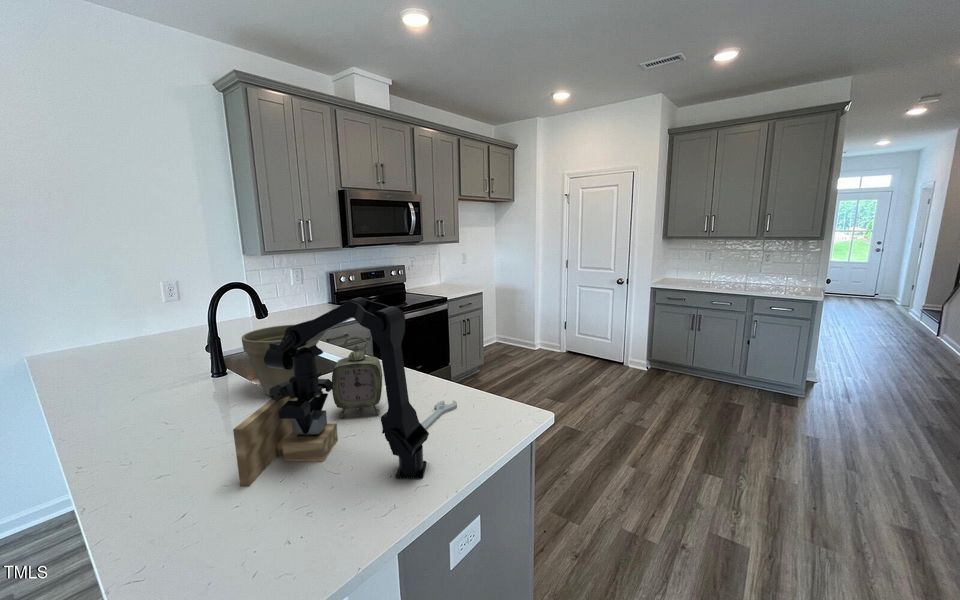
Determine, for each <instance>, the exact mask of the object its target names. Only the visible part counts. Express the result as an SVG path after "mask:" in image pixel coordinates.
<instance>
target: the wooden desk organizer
mask: <svg viewBox="0 0 960 600" xmlns="http://www.w3.org/2000/svg"><path fill="white" fill-rule="evenodd" d="M296 400H297V398H294V399H290V396H288V397H285V398H283V399H280V400H279V401H275V400H272V399H271V398H270V400H268V401H267V402H266V403H264V404H263V405H262V406H260V408H258V409H256V410H255V411H254V412H253V413H252V414H250V415H249V416H248V417H247V418H245V419H244V420H243V421H241V423H239V424H238V425H237V426H235V427H234V428H233V429H232V431H233V438H234V446H235V447H234V448H235V455H236V456H235V457H236V462H237V463H236V464H237V471H238V472H237V473H238V479H239V480H238V481H239V486H240V487H250V486H251V485H252V484H253V482H254V481H256V479H257V478H258V477H259V476H260V475H261V474H262V473H263V472H264V471H265V470H266V469H267V468H268V466H269V465H270V464H271V463H272V462H273V461H274V460H275V458H276V457H278V456H279V455H282V457H283V461H284V462H324V461H325V459H326V458H327V457H328V455H329V454H330V452H331V451H332V450H333V448H334V446H335V445H336V444H337V442H338V440H339V438H338V425H337V424H338V423H327V425H326V426H325V428H324V429H323V430H322V431H321V434H320V435H319V436H300V434H293V431H292V421H291V420H292V419H280V418H279V414H278V410H279V409H280V408H281V407H282V406H283V405H284V404H285V403H286V402H288V401H296Z"/></svg>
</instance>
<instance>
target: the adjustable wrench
mask: <svg viewBox="0 0 960 600" xmlns="http://www.w3.org/2000/svg"><path fill="white" fill-rule="evenodd" d="M457 404H458V403H457V401H456V400H452V403H449V404H445V400H440V401H438V402H437V403H436V404H434V410H435V411H434V412H433V413H431V414H430V416H428V417H427V418H426V419H425V420H423V421H422V422H420V423H421V425H422V426H423V427H424V428H425V429H426V430H427V431H428V429H430V427H431V426H432V425H433V424H434V423H436V422H437V420H439V419H440V418H441V417H442V416H443V415H445V414H447V413H449V412H452V411H455V410H456V409H457V407H458V405H457Z"/></svg>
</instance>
